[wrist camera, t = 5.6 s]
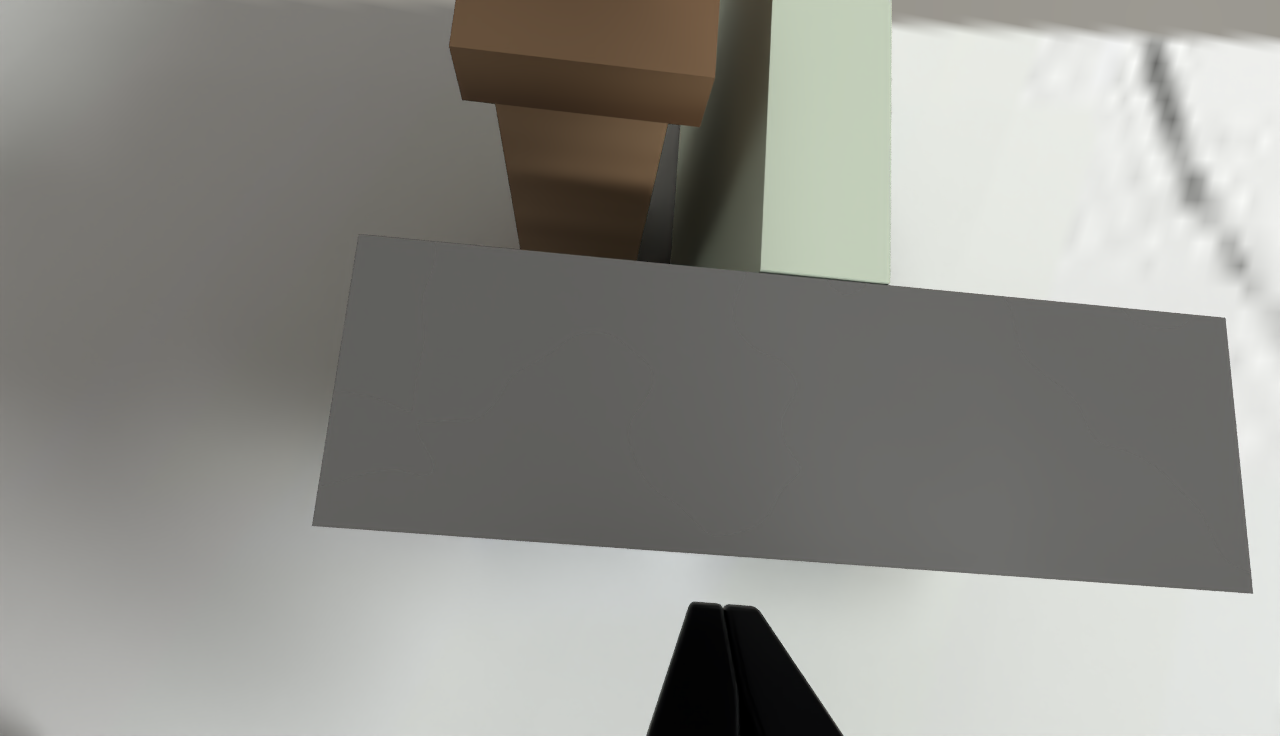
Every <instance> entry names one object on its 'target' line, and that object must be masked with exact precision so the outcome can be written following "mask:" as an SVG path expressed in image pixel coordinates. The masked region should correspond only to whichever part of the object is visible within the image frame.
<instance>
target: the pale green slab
mask: <svg viewBox="0 0 1280 736" xmlns="http://www.w3.org/2000/svg"><path fill="white" fill-rule="evenodd" d="M891 7H892V0H720V6H719V22H718V38H717V55H716V71H715V80H714V83H713V86H712V89H711V93H710V96H709V99H708V102H707V106H706V109H705V112H704V115H703V119H702V122H701V125H700V127H693V126H685V125H680V137H679V151H678V165H677V179H676V193H675V207H674V220H673V234H672V248H671V262H670V264H673V265H684V266H694V267H704V268H715V269H725V270H735V271H746V272H756V273H766V274H777V275H787V276H797V277H808V278H818V279H828V280H839V281H849V282H859V283H870V284H880V285H888V284H889V283H890V229H891V23H892V8H891Z"/></svg>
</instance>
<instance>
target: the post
mask: <svg viewBox="0 0 1280 736" xmlns="http://www.w3.org/2000/svg"><path fill="white" fill-rule="evenodd" d="M719 6H720V0H456V2H455V9H454V16H453V23H452V29H451V36H450V43H449V48H450V52H451V56H452V60H453V64H454V69H455V73H456V77H457V81H458V85H459V89H460V93H461V97H462V100H466V101H475V102H484V103H492V104H495V105H496V111H497V117H498V123H499V128H500V134H501V140H502V146H503V152H504V157H505V163H506V169H507V175H508V180H509V186H510V192H511V198H512V203H513V209H514V215H515V221H516V226H517V232H518V238H519V244H520V250H528V251H539V252H549V253H559V254H570V255H580V256H591V257H601V258H611V259H622V260H632V261H637V257H638V253H639V248H640V244H641V240H642V235H643V231H644V226H645V222H646V218H647V213H648V209H649V205H650V200H651V196H652V191H653V187H654V183H655V178H656V174H657V170H658V165H659V161H660V156H661V152H662V148H663V143H664V139H665V135H666V130H667V126H668V124H676V125H685V126H693V127H700V125H701V122H702V119H703V115H704V112H705V109H706V106H707V102H708V99H709V96H710V93H711V89H712V86H713V83H714V80H715V71H716V55H717V38H718V22H719Z"/></svg>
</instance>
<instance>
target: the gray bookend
mask: <svg viewBox="0 0 1280 736" xmlns="http://www.w3.org/2000/svg"><path fill="white" fill-rule="evenodd" d="M679 137H680V133H679ZM678 151H679V148H678ZM677 165H678V164H677ZM312 526H322V527H336V528H349V529H363V530H377V531H391V532H405V533H419V534H433V535H447V536H461V537H474V538H488V539H502V540H516V541H530V542H544V543H558V544H572V545H586V546H599V547H613V548H627V549H641V550H655V551H669V552H683V553H697V554H711V555H724V556H738V557H752V558H766V559H780V560H794V561H808V562H822V563H836V564H849V565H863V566H877V567H891V568H905V569H919V570H933V571H947V572H961V573H974V574H988V575H1002V576H1016V577H1030V578H1044V579H1058V580H1072V581H1086V582H1099V583H1113V584H1127V585H1141V586H1155V587H1169V588H1183V589H1197V590H1211V591H1224V592H1238V593H1252V594H1253V589H1252V579H1251V569H1250V559H1249V549H1248V539H1247V529H1246V519H1245V509H1244V499H1243V489H1242V479H1241V469H1240V459H1239V449H1238V439H1237V429H1236V419H1235V409H1234V399H1233V389H1232V379H1231V369H1230V359H1229V349H1228V339H1227V329H1226V319H1225V318H1221V317H1211V316H1201V315H1190V314H1180V313H1170V312H1159V311H1149V310H1139V309H1128V308H1118V307H1108V306H1097V305H1087V304H1077V303H1066V302H1056V301H1046V300H1035V299H1025V298H1015V297H1004V296H994V295H983V294H973V293H963V292H952V291H942V290H932V289H921V288H911V287H901V286H890V285H880V284H870V283H859V282H849V281H839V280H828V279H818V278H808V277H797V276H787V275H777V274H766V273H756V272H746V271H735V270H725V269H715V268H704V267H694V266H684V265H673V264H663V263H653V262H642V261H632V260H622V259H611V258H601V257H591V256H580V255H570V254H559V253H549V252H539V251H528V250H518V249H508V248H497V247H487V246H477V245H466V244H456V243H446V242H435V241H425V240H415V239H404V238H394V237H384V236H373V235H363V234H359V236H358V243H357V249H356V255H355V261H354V268H353V274H352V280H351V286H350V293H349V299H348V305H347V311H346V317H345V324H344V330H343V336H342V342H341V349H340V355H339V361H338V367H337V374H336V380H335V386H334V392H333V398H332V405H331V411H330V417H329V423H328V430H327V436H326V442H325V448H324V455H323V461H322V467H321V473H320V480H319V486H318V492H317V498H316V504H315V511H314V517H313V523H312Z"/></svg>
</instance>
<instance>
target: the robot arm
mask: <svg viewBox="0 0 1280 736" xmlns="http://www.w3.org/2000/svg"><path fill="white" fill-rule="evenodd" d="M646 736H843V734H842V733H841V731H840V730H839V728H838V727H837V725H836V724H835V722H834V721H833V719H832V718H831V716H830V715H829V713H828V712H827V710H826V709H825V707H824V706H823V704H822V703H821V701H820V700H819V698H818V697H817V695H816V694H815V692H814V691H813V690H812V688H811V687H810V685H809V684H808V682H807V681H806V679H805V678H804V676H803V675H802V673H801V672H800V670H799V669H798V667H797V666H796V664H795V663H794V661H793V660H792V658H791V657H790V655H789V654H788V652H787V651H786V649H785V648H784V646H783V645H782V643H781V642H780V640H779V639H778V637H777V636H776V635H775V633H774V632H773V630H772V629H771V627H770V626H769V624H768V623H767V621H766V620H765V618H764V617H763V615H762V614H761V612H760V611H759V610H758V609H757V608H755V607H753V606H745V605H731V604H729V605H726V606H724V607H722V606H721V605H720V604H717V603H705V602H692V603H691V604H690V605H689V607H688V610H687V613H686V616H685V619H684V622H683V625H682V628H681V631H680V634H679V637H678V640H677V643H676V646H675V649H674V653H673V656H672V659H671V662H670V665H669V668H668V671H667V674H666V677H665V680H664V683H663V686H662V689H661V692H660V695H659V698H658V701H657V705H656V708H655V711H654V714H653V717H652V720H651V723H650V726H649V729H648V732H647V735H646Z"/></svg>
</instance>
